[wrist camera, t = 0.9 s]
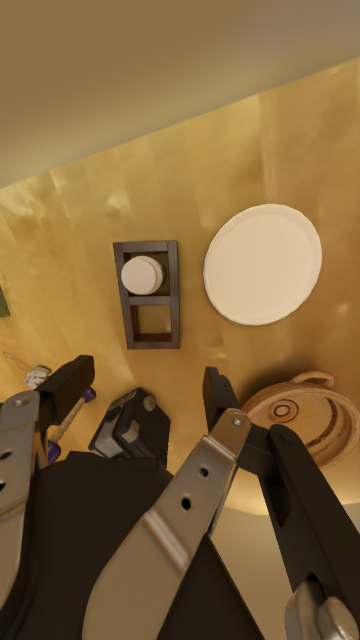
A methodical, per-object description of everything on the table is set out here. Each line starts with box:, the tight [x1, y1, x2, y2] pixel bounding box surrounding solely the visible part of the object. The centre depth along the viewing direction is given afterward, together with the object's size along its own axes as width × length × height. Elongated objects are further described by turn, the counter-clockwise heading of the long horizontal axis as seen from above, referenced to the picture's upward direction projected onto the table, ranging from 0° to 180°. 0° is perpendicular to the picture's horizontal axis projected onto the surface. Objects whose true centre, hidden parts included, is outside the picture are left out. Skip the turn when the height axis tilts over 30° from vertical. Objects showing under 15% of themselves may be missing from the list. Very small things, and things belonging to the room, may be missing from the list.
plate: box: [203, 204, 322, 325], centre depth 30 cm, size 21×21×1 cm
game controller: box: [3, 352, 50, 389], centre depth 38 cm, size 6×12×3 cm, turn 66°
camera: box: [88, 388, 171, 469], centre depth 35 cm, size 11×14×15 cm
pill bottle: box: [121, 256, 166, 295], centre depth 27 cm, size 6×6×10 cm
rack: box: [113, 241, 181, 349], centre depth 31 cm, size 10×19×4 cm, turn 1°
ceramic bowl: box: [241, 371, 360, 472], centre depth 37 cm, size 30×24×8 cm
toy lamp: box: [48, 387, 96, 465], centre depth 33 cm, size 5×5×17 cm
